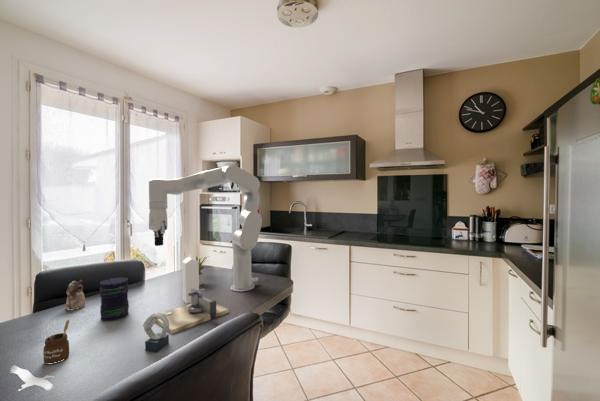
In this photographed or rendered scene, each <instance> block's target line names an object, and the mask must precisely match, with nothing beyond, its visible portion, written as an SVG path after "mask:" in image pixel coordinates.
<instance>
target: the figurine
mask: <svg viewBox="0 0 600 401" xmlns="http://www.w3.org/2000/svg"><path fill="white" fill-rule="evenodd" d="M82 283H83V280H82V279H80V280H79V281H76V280H72V282H70V283H69V285H68V287H67V289H66V292H65V293H66V294H67V297H66V300H65V301H66V303H65V307H64V310H65V309H70V310H71V309H77V308H80V309H82V308H84V307H85V306H86V297H85V293H84V292H83V290H84V286H83V284H82ZM79 288H80V289H79ZM84 305H85V306H84ZM83 306H84V307H83ZM81 307H82V308H81ZM77 310H78V309H77Z"/></svg>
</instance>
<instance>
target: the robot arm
mask: <svg viewBox="0 0 600 401" xmlns="http://www.w3.org/2000/svg"><path fill="white" fill-rule="evenodd" d="M227 183H228V184H229V183H233V184H235V185H237V187H238V189H239V190H240V192H241V193H242V196H243V201H242V202H243V203H242V206H241V210H240V214H239V217H238V222H239V225H241V227H242V228H239V229H237V230H235V231H234V232H233V234H232V236H231V245H232V258H233V259H232V262H233V263H232V267H233V268H232V269H233V270H232V272H233V275H232V276H233V281H232V282H233V283H232V284H231V285H230V291H233V292H240V293H241V292H248V291H251V290H253V289H255V284H254V282H258V281H259V277H252V249H254V248H255V247H256V245H257V243H258V241H259V235H260V232H261V229H262V226H263V218H262V214H261V213H260V212H259V211H258V210H259V206H260V193H259V191H258V190H259V189H260V186H261V185H260V184H261V182H260V180H259V178H258V177H257V176H255V175H253V174H251V173H250V172H248V171H246V170H245V169H243V168H241V167H239V166H237V165H235V164H229V165H225V166H221V167H218V168H212V169H207V170H203V171H199V172H198V173H195V174H192V175H188V176H183V177H179V178H172V179H171V178H170V179H163V178H151V179H150V180H149V181H148V206H149V207H148V209H149V214H148V229H149V230H150V231H152V232H153V234H154V246H156V247H158V246H164V235H165V234H166V230H167V229H168V214H167V209H168V195H175V196H176V195H177V196H179V195H181V194H185V193H186V192H187V193H188V192H191V191H196V190H204V189H205V190H206V189H209V188H214V187H217V186H220V185H224V184H227Z"/></svg>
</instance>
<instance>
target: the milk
mask: <svg viewBox="0 0 600 401" xmlns="http://www.w3.org/2000/svg"><path fill="white" fill-rule="evenodd" d="M181 266H182V272H181V273H182V302H184V303H185V305H188V304H191V296H188V293H189V292H191V289H196V290H199V289H200V285H199V260H198V261H197V260H196V258H193V255H192V254H190V253H188V257H186V258H184V260H182V262H181Z"/></svg>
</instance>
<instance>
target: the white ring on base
mask: <svg viewBox="0 0 600 401" xmlns="http://www.w3.org/2000/svg"><path fill="white" fill-rule="evenodd" d="M158 318H159V319H160V320H161V321H162V322H163V321H164V322H163V324H164V327H162V331H161V332H158V333H155V332H154V330H153V327H154V325H155V324H156V321H157V319H158ZM142 327H143V331H144V332H145V333H146V335H147V337H149V338H148V339H147V340H145V342H144V343H145V346H144V347H145V349H144V350H145V352H151V353H159V352H160V351H161V350H162V349H164V348H165V347H167V345H169V344H170V343H169V342H170V340H169V336H170V335H169V334H168V329H169V321H168V319H167V317H166V316H165V315H164V314H162V312H157V313H152V314H151V315H150V316H148V317H147V319H145V321H144V323H143V325H142Z"/></svg>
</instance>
